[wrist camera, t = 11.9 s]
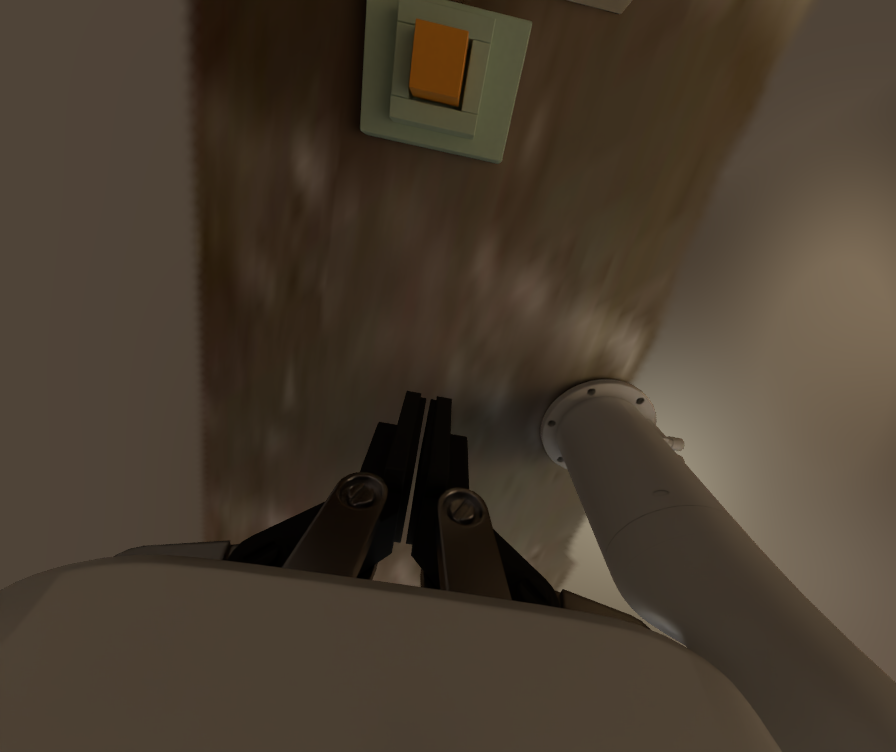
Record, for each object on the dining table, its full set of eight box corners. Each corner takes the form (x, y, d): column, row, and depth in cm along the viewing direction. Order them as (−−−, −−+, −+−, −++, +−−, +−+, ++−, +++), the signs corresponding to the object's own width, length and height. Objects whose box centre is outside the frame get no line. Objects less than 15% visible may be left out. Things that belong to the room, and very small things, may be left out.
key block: (528, 32, 23) (538, 6, 20) (499, 164, 27) (504, 158, 24) (373, -6, 23) (359, -40, 20) (365, 134, 26) (352, 125, 23)
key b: (468, 46, 22) (468, 30, 20) (458, 107, 23) (458, 98, 21) (419, 34, 21) (415, 17, 19) (412, 96, 23) (408, 86, 21)
